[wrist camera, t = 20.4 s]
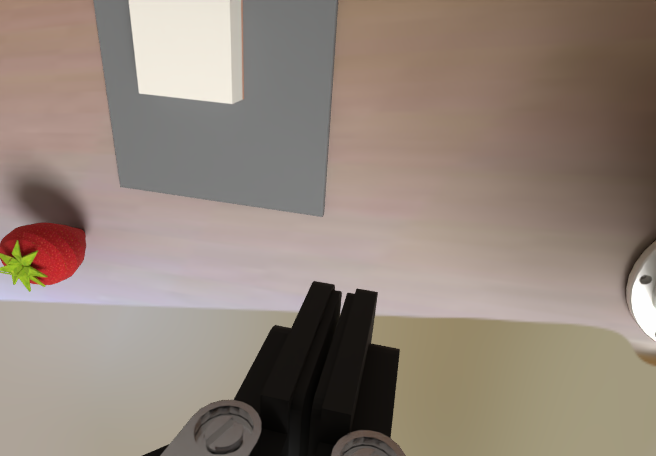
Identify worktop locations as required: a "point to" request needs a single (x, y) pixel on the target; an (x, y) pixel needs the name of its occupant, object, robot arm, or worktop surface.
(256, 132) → the mat
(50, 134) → the worktop surface
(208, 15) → the tile
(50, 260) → the strawberry
